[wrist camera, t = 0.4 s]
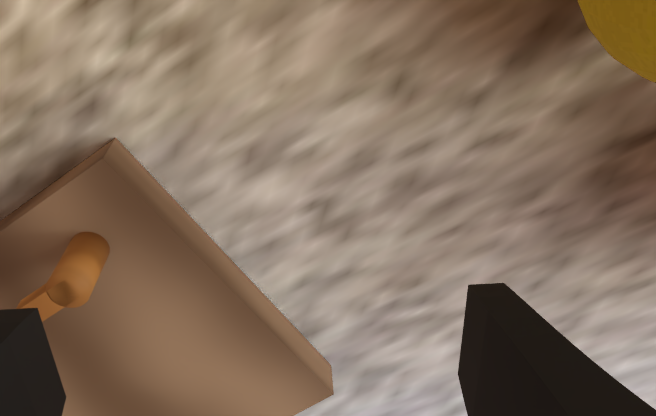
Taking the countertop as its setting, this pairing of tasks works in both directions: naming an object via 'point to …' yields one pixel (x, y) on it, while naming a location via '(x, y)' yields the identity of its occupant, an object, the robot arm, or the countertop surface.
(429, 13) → the countertop surface
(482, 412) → the robot arm
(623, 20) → the lemon
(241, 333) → the keeper board
